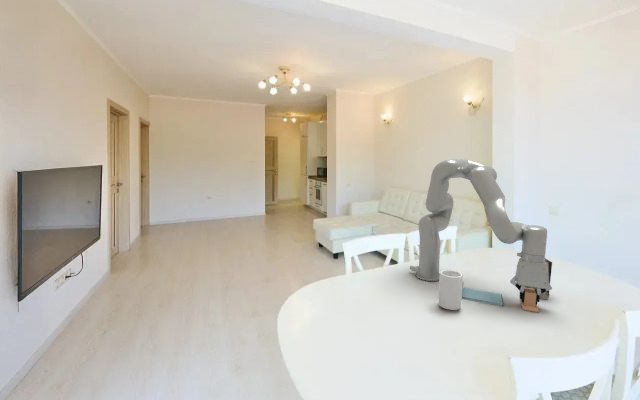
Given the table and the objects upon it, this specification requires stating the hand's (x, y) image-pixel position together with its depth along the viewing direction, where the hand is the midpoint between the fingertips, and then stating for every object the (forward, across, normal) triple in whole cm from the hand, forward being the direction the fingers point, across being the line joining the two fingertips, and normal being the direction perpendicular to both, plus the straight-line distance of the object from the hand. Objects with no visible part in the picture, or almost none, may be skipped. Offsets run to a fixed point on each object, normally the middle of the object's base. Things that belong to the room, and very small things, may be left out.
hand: (529, 301), depth 119 cm
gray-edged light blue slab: (+2, -18, 0) cm, 18 cm away
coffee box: (+2, +4, +14) cm, 15 cm away
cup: (+2, -28, -16) cm, 32 cm away
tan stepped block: (+2, 0, 0) cm, 2 cm away
